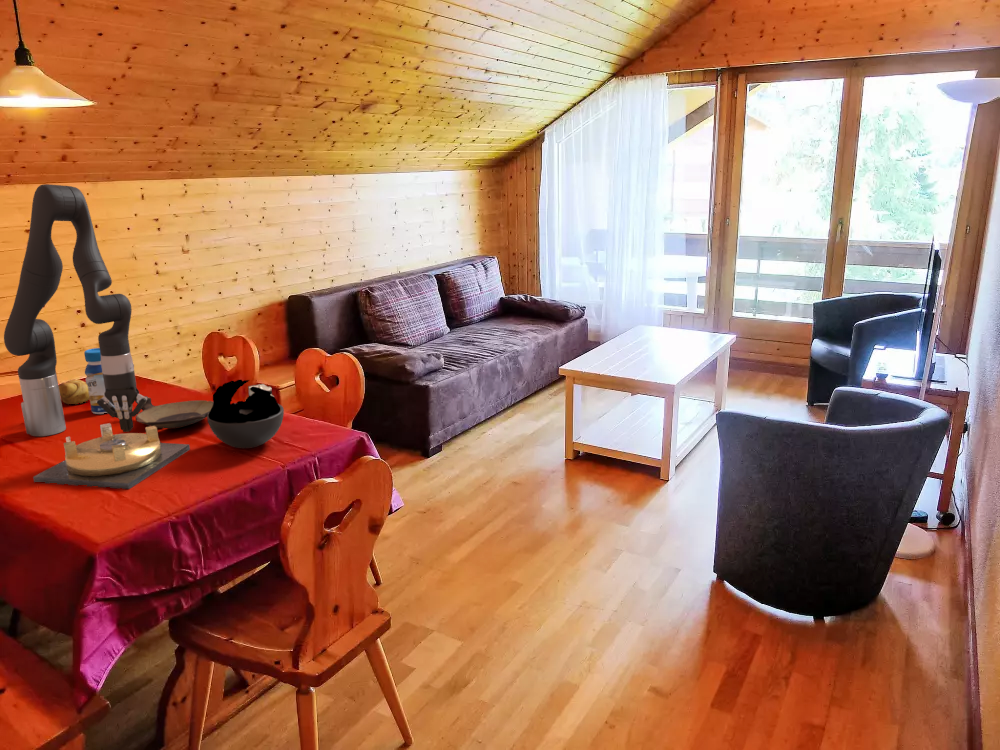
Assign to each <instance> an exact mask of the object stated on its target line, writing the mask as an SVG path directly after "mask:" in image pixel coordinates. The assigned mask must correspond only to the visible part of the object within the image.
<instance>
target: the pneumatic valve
mask: <svg viewBox="0 0 1000 750" xmlns="http://www.w3.org/2000/svg"><path fill="white" fill-rule="evenodd" d="M251 387H258V388H261V389H263V390H267V391H269V392H270V393H271V396H273V397H274V398H275V395H273V391H272V387H271V386H267V385H265V383H259V384H253V385H248V387H247V388H248V397H249V396H251V395H252V394H253V393H254V392H252V391H251V389H250V388H251ZM275 399H276V398H275Z"/></svg>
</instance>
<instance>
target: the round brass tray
mask: <svg viewBox="0 0 1000 750" xmlns="http://www.w3.org/2000/svg"><path fill="white" fill-rule="evenodd" d="M99 426H100V427H99V428H100V433H101V436H100V437H97V438H92V439H90V440H86V441H83V442H81V443H78V444H76V441H75V440H71V442H63V447H64V453H65V455H64V458H65V460H66V465H67V469H68V471H70V472H71V473H74V474H77V475H84V476H101V475H111V474H117V473H122V472H126V471H130V470H134V469H137V468H140V467H143V466H145V465H147V464H149V463H151V462H153V461H155V460H156V459H157V458H158V457H159V456H160V455H161V446H160V443H161V441H160V438H159V433H158V428H157V427H156V426H146V427H145V433H141V432H139V433H138V432H126V433H125V432H124V433H116V434H114V433H113V428H112V424H111V423H110V422H109V423H103V424H100V425H99Z"/></svg>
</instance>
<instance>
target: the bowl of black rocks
mask: <svg viewBox="0 0 1000 750" xmlns="http://www.w3.org/2000/svg"><path fill="white" fill-rule="evenodd" d="M249 381H250V379H247V380H246V379H244V380H242V379H236V380H230V381H228V382H224V383H223V384H222V385H219V386H218V387H217V389H216V390H215V391H214V393H213V394H212V402H214V403H213V406H212V408H211V410H210V412H209V414H208V415H207V417H206V419H207V423H208V426H209V428H210V430H211V432H212V433H213V434H214V435H215V436H216V438H218V440H219V441H221V442H222V443H224V444H226V445H228V446H230V447H232V448H236V449H252V448H257V447H259V446H261V445H264V444H265V443H267V442H269V441H270V440H271V439H272V438H273V437H274V436H275V435H276V434H277V433H278V431H279V430H280V428H281V426H282V423H283V419H284V414H285V410H284V406H283V405H281V404H279V403H278V400H277V398H274V397H275V396H274V395H273V396H274V397H273V396H271V393H270V392H269V391H267V390H263V389H261V388H258V387H251V388H250V389H251V391H252V392H254V393H253V394H252V395H251V396H249V395H248V396H247V397H246V398H245V400H244V401H243V400H238V401H237V402H232V399H233V397H234V396H235V395H236V393H237V392H238V390H239V389H240V388H241V387H244V385H245V384H246V383H249ZM231 402H232V403H231Z"/></svg>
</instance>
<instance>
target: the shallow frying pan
mask: <svg viewBox="0 0 1000 750" xmlns="http://www.w3.org/2000/svg"><path fill="white" fill-rule="evenodd" d="M134 402H135V403H136V405H137V404H138V403H137V398H136V400H135V401H134ZM213 403H214V402H213V400H203V399H202V400H201V399H200V400H199V399H198V400H197V399H196V400H186V401H177V402H169V403H164V404H159V405H154V404H153V403H152V398H151V397H148V400H147V402H146V403H145V405H144V406H143V407H142V409H141V411H140V412H139V413H138V414H137V415H136V416H135V420H136V422H137V423H140V424H143V425H147V426H148V427H151V426H156V428H157V429H179V428H184V427H187V426H190V425H193V424H196V423H198V422H201V421H202V420H205V419H207V415H208V414H209V412H210V410H211V408H212V406H213Z"/></svg>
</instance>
